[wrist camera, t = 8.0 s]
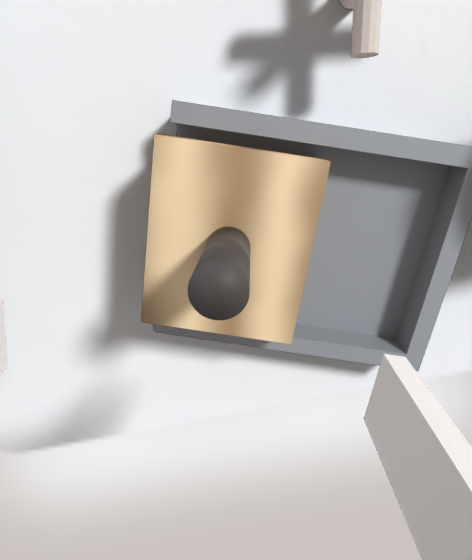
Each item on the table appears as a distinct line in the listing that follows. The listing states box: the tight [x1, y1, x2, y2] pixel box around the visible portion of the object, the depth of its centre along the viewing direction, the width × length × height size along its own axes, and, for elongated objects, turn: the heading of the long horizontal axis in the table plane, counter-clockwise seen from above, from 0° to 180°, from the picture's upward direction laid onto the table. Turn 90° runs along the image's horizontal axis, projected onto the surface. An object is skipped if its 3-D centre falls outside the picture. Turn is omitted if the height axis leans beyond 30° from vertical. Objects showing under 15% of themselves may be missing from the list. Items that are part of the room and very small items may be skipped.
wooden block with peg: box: [141, 134, 331, 344], centre depth 27 cm, size 12×14×15 cm
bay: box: [153, 100, 472, 371], centre depth 34 cm, size 24×19×4 cm
